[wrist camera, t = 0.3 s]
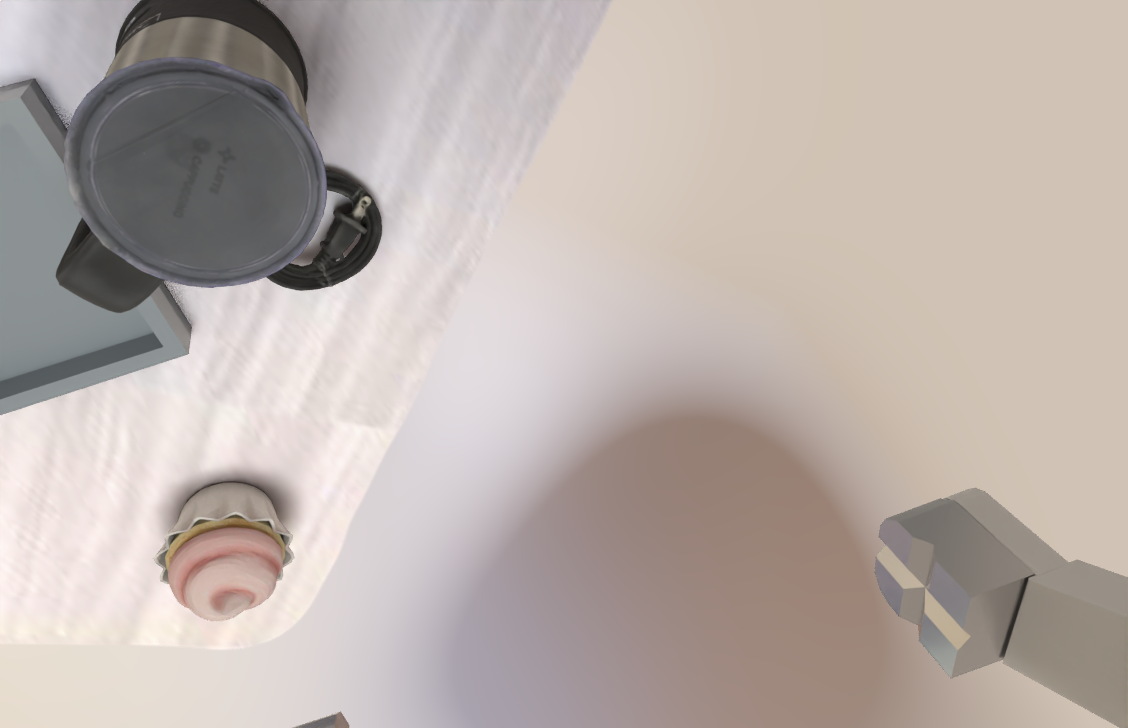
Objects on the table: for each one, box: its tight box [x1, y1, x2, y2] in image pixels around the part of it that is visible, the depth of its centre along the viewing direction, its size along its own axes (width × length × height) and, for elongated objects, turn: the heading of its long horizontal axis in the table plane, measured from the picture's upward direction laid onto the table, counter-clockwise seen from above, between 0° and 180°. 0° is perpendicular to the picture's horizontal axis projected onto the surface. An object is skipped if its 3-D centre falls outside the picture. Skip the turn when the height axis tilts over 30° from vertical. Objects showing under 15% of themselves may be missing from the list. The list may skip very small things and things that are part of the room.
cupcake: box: [153, 482, 294, 621], centre depth 53 cm, size 9×9×10 cm
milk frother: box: [56, 0, 382, 313], centre depth 37 cm, size 14×16×15 cm
